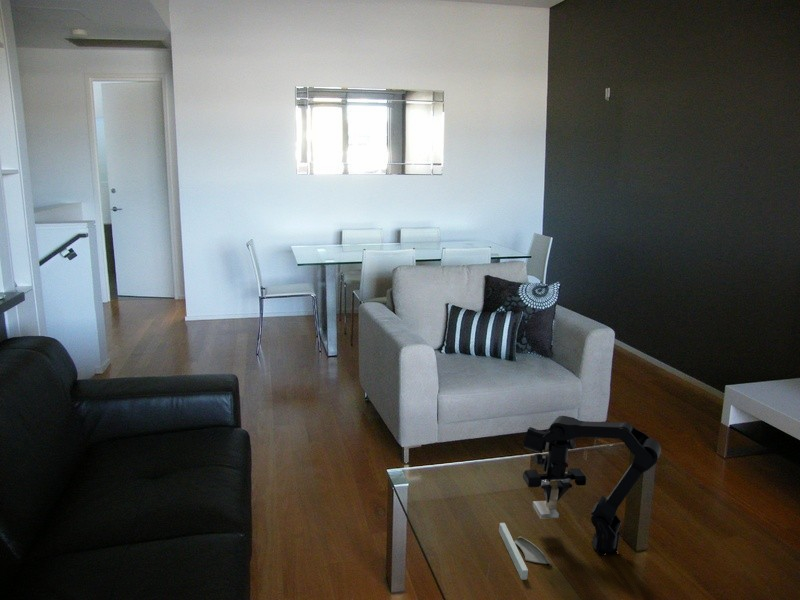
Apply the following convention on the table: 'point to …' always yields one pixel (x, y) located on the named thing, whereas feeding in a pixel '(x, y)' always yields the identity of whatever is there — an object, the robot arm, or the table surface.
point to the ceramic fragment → (531, 551)
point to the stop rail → (513, 551)
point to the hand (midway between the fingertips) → (551, 501)
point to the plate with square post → (548, 505)
